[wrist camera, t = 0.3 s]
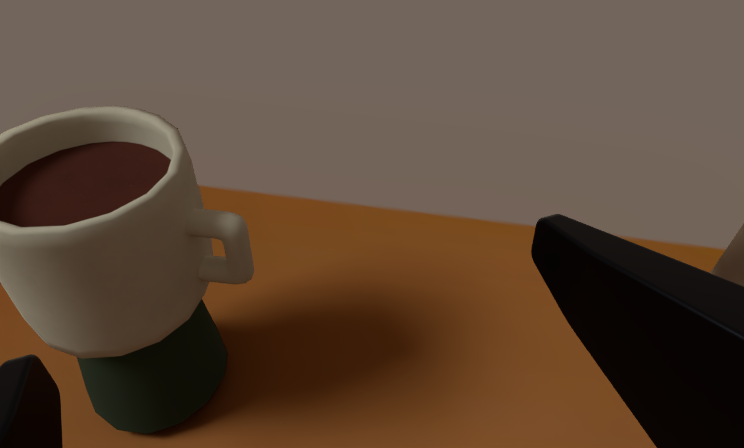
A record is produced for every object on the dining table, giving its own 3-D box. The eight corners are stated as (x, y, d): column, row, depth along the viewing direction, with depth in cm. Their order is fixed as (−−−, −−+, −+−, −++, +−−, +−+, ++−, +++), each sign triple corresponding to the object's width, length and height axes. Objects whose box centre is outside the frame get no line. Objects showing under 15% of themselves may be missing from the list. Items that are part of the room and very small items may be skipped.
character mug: (290, 330, 29) (267, 117, 20) (253, 464, 24) (201, 256, 15) (91, 308, 29) (-15, 91, 21) (13, 433, 24) (-175, 215, 15)
